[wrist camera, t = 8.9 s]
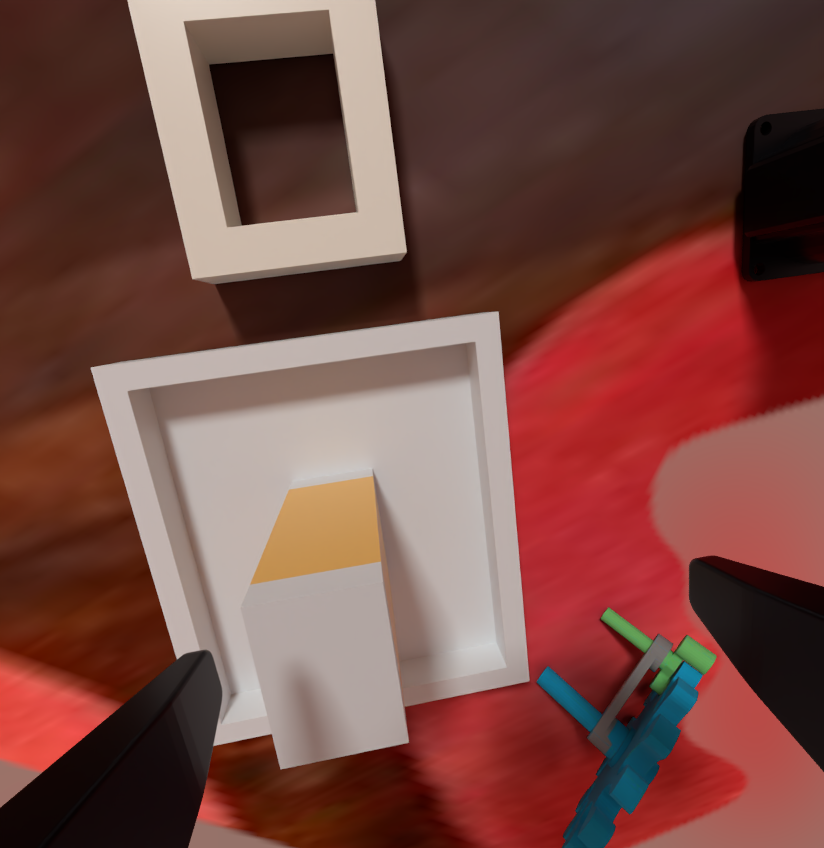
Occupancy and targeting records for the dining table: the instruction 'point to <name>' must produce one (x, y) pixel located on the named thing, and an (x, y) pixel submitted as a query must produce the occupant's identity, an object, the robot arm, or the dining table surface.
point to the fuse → (326, 624)
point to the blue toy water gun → (630, 728)
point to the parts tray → (322, 456)
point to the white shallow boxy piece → (205, 147)
